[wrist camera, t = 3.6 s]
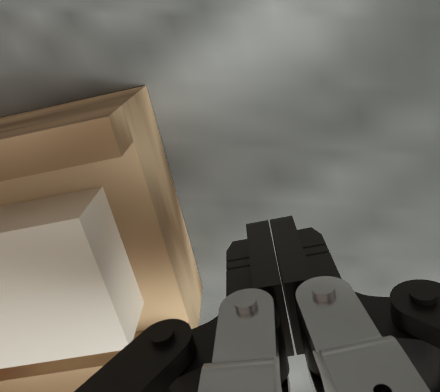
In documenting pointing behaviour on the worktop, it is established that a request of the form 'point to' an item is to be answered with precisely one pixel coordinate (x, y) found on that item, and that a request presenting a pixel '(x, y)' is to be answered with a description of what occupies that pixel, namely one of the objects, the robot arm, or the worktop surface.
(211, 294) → the worktop surface
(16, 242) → the tile
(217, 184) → the worktop surface
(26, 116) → the wooden u-channel
